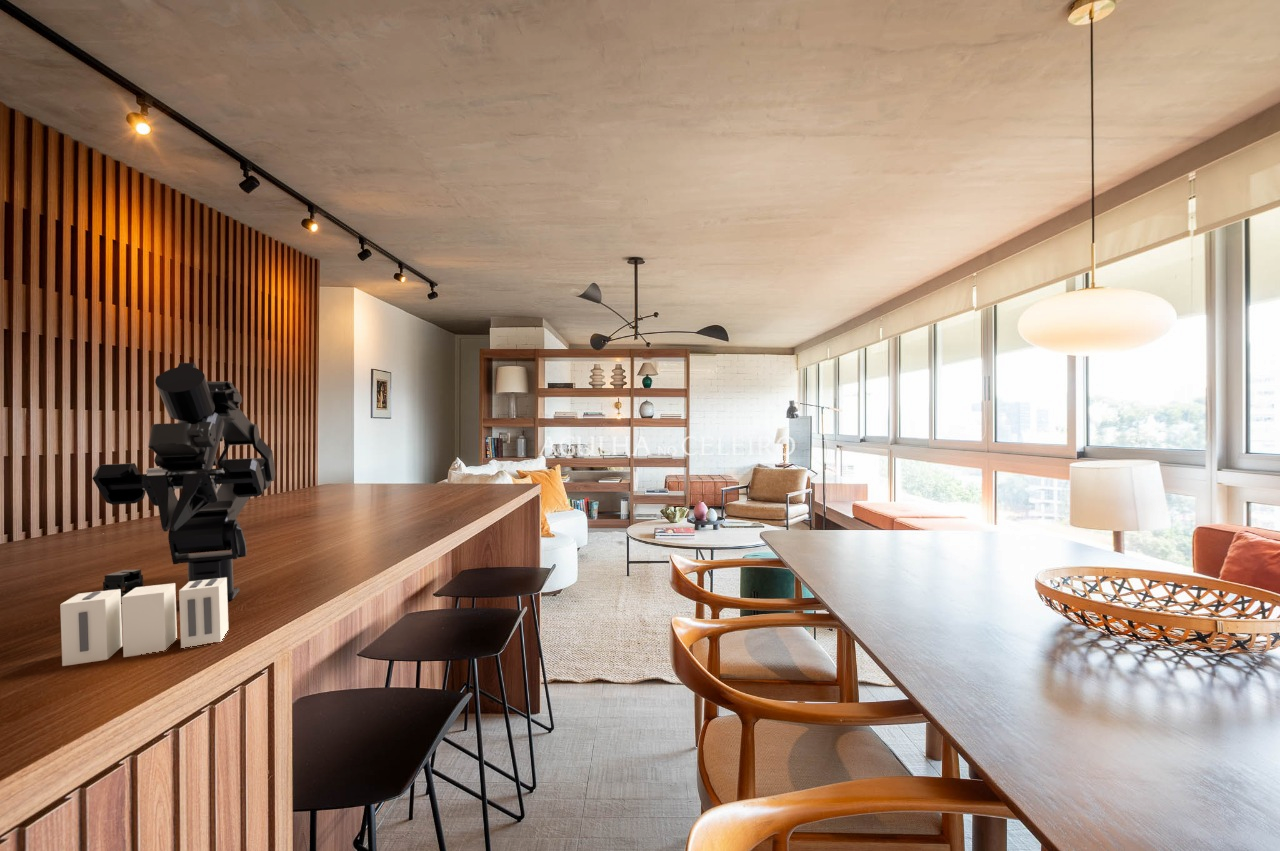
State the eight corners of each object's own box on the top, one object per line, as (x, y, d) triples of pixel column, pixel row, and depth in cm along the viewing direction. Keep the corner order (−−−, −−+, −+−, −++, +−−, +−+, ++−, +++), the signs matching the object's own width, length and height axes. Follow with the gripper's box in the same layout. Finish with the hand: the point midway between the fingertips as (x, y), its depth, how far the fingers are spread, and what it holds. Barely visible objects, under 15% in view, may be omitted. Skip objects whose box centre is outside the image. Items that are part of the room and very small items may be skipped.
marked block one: (80, 651, 74) (78, 592, 74) (122, 645, 76) (120, 587, 76) (61, 666, 70) (59, 603, 70) (106, 660, 71) (104, 598, 71)
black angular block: (110, 612, 93) (109, 581, 93) (63, 613, 93) (62, 582, 93) (176, 590, 105) (175, 562, 105) (134, 591, 105) (133, 564, 105)
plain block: (137, 643, 77) (135, 587, 77) (177, 638, 78) (175, 583, 78) (123, 657, 72) (121, 597, 72) (165, 651, 74) (163, 592, 74)
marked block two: (191, 636, 79) (189, 580, 79) (228, 631, 81) (226, 576, 80) (180, 649, 74) (178, 590, 74) (220, 643, 76) (218, 585, 76)
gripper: (97, 404, 83) (53, 495, 73) (256, 402, 89) (237, 485, 79) (125, 460, 91) (89, 549, 80) (271, 454, 97) (255, 537, 86)
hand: (168, 529), depth 81 cm, fingers closed
